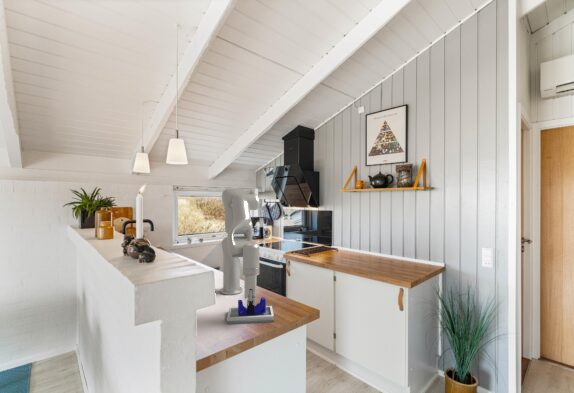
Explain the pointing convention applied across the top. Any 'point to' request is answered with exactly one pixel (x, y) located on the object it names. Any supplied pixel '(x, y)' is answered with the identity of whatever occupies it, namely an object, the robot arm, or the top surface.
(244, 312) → the blue long irregular block
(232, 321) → the shallow rectangular tray
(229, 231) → the robot arm
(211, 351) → the top surface
